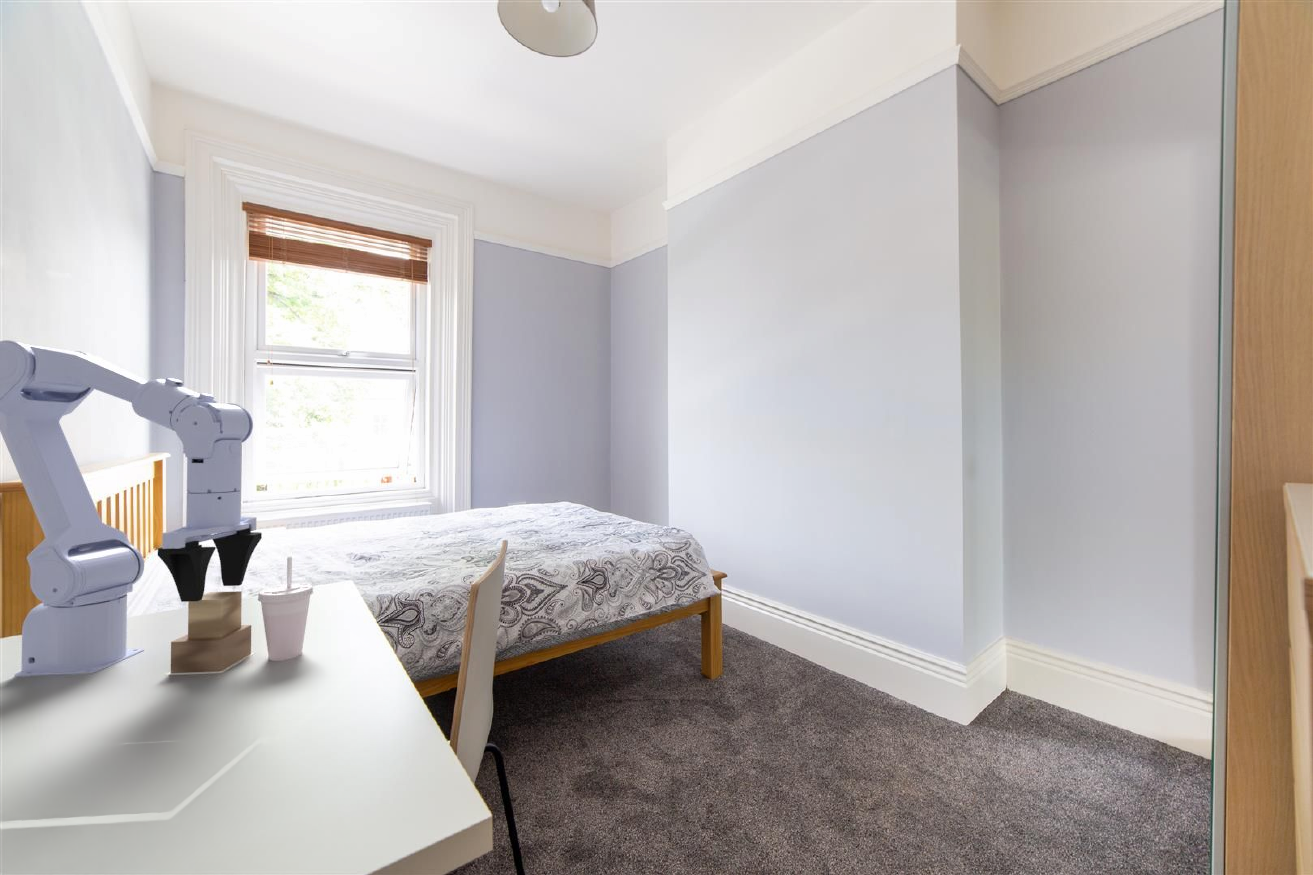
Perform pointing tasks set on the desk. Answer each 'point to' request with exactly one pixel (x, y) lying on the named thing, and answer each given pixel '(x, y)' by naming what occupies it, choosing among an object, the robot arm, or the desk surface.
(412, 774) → the desk surface
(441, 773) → the desk surface
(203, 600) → the oak block
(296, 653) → the smoothie
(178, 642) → the walnut block
